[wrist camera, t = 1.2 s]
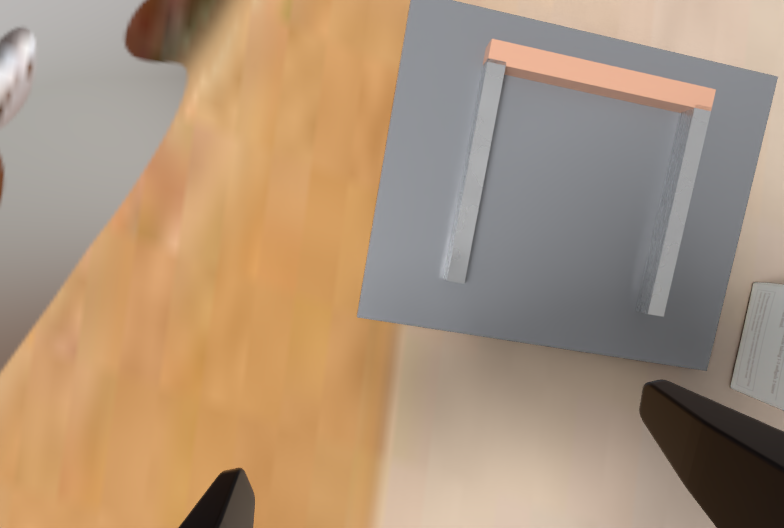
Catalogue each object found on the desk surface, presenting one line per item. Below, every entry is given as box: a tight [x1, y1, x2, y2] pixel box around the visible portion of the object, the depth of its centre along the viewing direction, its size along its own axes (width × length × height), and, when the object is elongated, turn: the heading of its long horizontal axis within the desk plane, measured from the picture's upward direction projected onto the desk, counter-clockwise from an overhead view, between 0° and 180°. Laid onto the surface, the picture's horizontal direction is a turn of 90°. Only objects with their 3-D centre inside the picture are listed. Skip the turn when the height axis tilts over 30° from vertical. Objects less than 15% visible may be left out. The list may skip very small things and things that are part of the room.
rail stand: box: [357, 0, 778, 371], centre depth 22 cm, size 18×22×2 cm
